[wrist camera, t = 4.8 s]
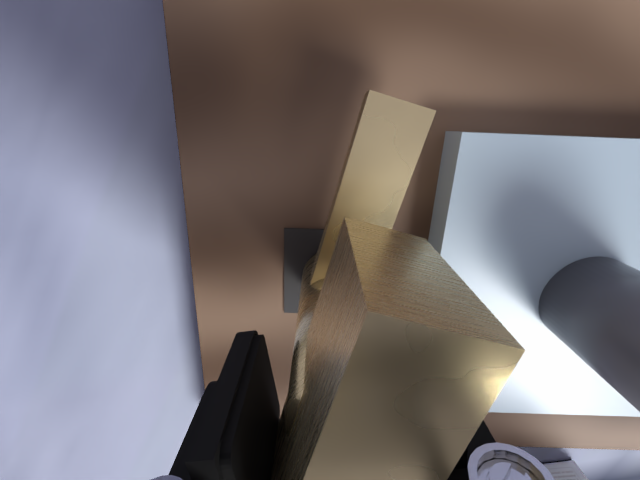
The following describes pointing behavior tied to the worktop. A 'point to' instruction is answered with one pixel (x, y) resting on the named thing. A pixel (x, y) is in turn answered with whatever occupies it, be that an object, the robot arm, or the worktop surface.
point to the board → (337, 129)
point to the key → (385, 329)
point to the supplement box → (565, 470)
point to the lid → (550, 261)
